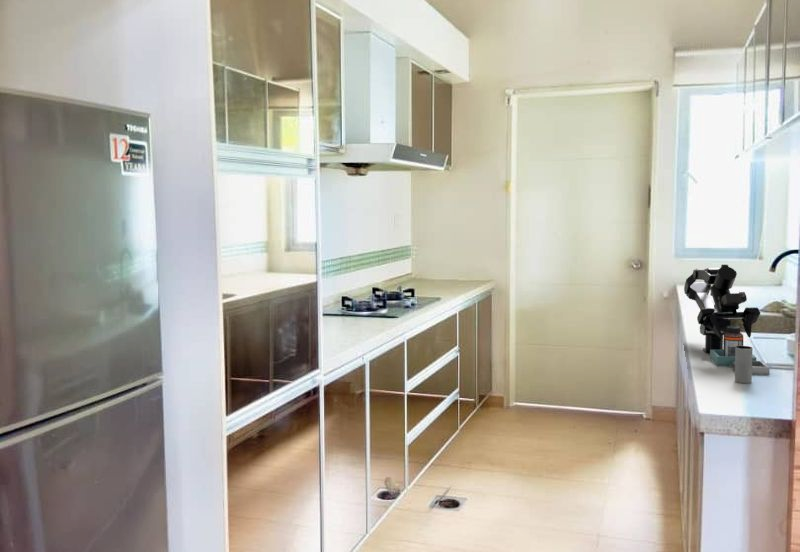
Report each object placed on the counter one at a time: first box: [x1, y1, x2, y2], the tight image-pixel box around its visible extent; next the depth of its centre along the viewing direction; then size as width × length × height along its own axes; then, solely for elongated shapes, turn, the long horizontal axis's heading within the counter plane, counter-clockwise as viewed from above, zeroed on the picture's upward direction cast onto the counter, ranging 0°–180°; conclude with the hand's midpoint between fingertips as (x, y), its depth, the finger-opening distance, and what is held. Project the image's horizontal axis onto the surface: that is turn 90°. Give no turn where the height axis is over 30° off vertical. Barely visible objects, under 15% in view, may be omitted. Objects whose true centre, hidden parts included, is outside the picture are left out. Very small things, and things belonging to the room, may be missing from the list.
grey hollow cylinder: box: [734, 345, 753, 384], centre depth 218 cm, size 4×4×10 cm
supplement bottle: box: [723, 325, 744, 357], centre depth 242 cm, size 6×6×11 cm
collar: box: [729, 360, 771, 375], centre depth 231 cm, size 9×9×2 cm
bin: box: [709, 350, 757, 367], centre depth 243 cm, size 12×12×3 cm
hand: (735, 336), depth 240 cm, fingers open, 9 cm apart
